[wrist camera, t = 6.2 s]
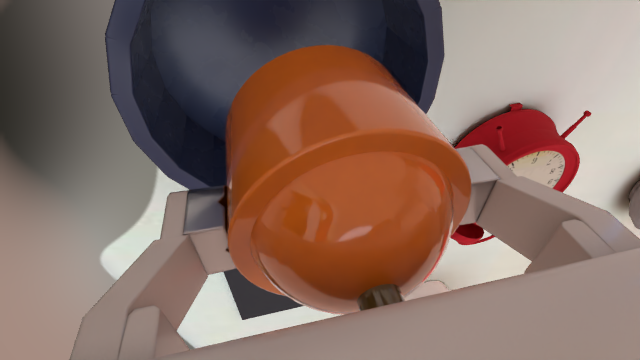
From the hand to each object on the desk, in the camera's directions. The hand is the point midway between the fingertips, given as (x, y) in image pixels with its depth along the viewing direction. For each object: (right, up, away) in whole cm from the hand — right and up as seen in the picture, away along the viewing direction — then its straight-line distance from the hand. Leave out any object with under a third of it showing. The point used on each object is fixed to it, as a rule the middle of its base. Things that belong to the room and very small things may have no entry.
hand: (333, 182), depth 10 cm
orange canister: (-1, +2, +2) cm, 3 cm away
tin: (-3, +7, +9) cm, 12 cm away
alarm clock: (+15, +1, +20) cm, 25 cm away
